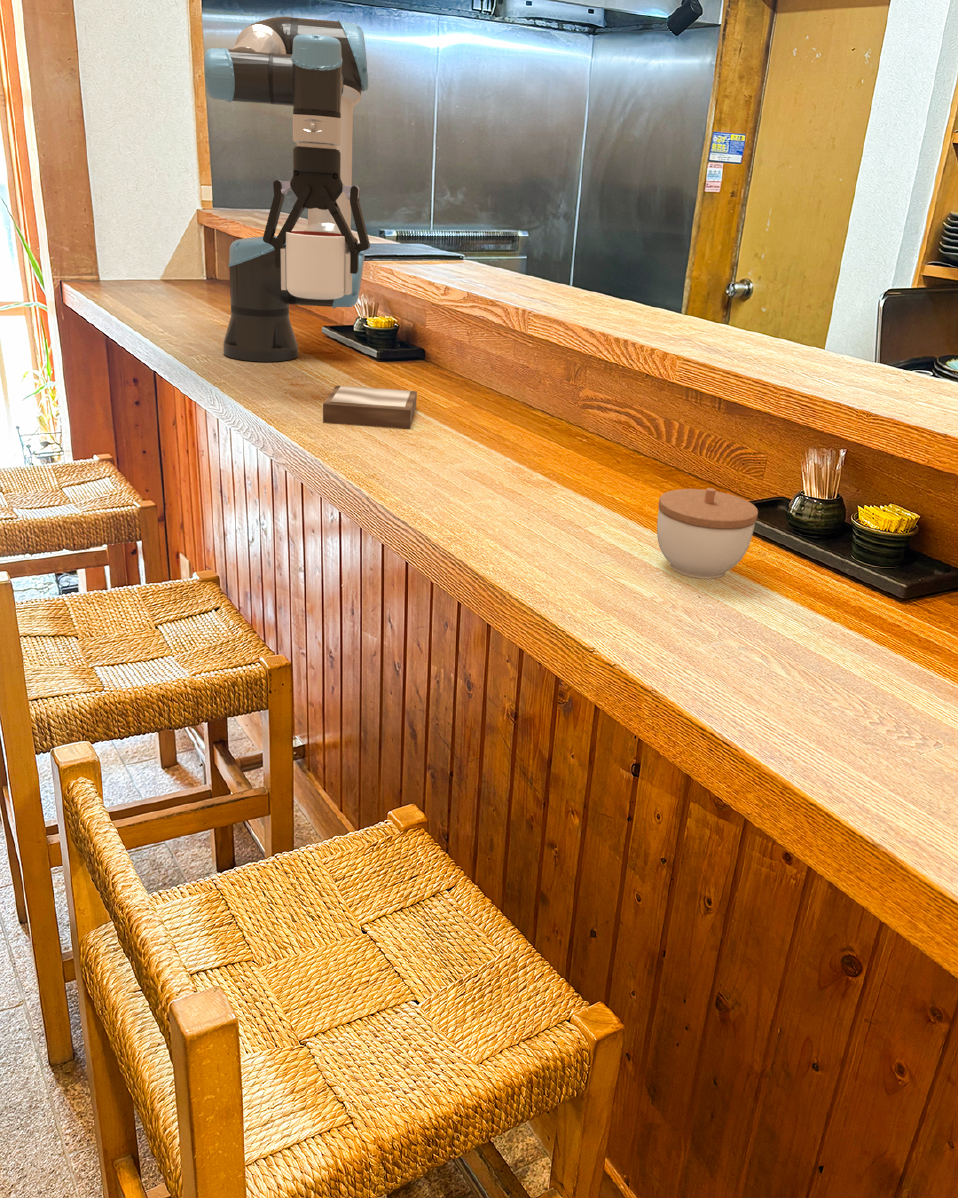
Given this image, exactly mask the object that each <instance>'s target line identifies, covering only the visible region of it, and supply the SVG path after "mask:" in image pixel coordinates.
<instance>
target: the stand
mask: <svg viewBox="0 0 958 1198" xmlns="http://www.w3.org/2000/svg"><path fill="white" fill-rule="evenodd" d="M417 393H418V392H417V391H416V390H403V389H390V388H377V387H376V388H374V387H362V386H350V385H335V386H334V387H333V389H332V391H330V394H329V395H328V396H327V397H326V399H325V401H324V402H323V404H322V423H325V424H339V425H352V426H353V425H354V426H364V427H365V426H367V427H380V428H381V427H382V428H395V429H407V430H409V429H411V427H412V423H413V419H414V416H415V413H416V410H417V397H418V396H417Z"/></svg>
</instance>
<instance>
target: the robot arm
mask: <svg viewBox="0 0 958 1198" xmlns="http://www.w3.org/2000/svg"><path fill="white" fill-rule="evenodd" d="M367 59H368V58H367V50H366V41H365V34H364V31H363V29H362V27H361V26H360V25H358V24H357V23H353V22H346V21H341V20H325V19H314V18H313V19H312V18H305V17H304V18H303V17H294V16H276V17H269V18H267V19H262V20H258V21H256V22H254V23H251V24H249V25H248V26H246V27H245V28H243V29H242V30H241V31H240V33H238V36H237V38H236V41H235V45H234V47H233V48H226V47H221V48H216V47H215V48H213V47H212V48H208V49H207V50H206V52H205V54H204V59H203V61H204V65H203V66H204V69H203V70H204V72H203V75H204V83H205V84H204V85H205V88H206V90H205V91H206V92H207V94H208V97H210V98H211V99H213V100H218V101H225V102H227V103H231V102H236V103H237V102H238V103H250V104H251V103H252V104H267V105H277V106H286V107H287V106H288V107H293V109H292V141H293V142H294V143H296V146H294V147H293V149H292V162H293V163H292V170H293V171H292V173H293V174H292V176H291V180H284V181H283V180H282V179H279V180H278V179H277V180H274V181H273V183H272V185H273V186H272V187H273V198H272V202H271V205H270V209H269V214H268V217H267V221H266V225H265V229H264V232H263V236H251V237H247V238H239V239H236V240H234V241H232V243H231V244H230V246H229V254H228V255H229V257H228V258H229V259H228V269H229V286H230V287H229V290H230V293H229V294H230V318H229V322H228V325H227V329H226V333H225V336H224V339H223V343H222V344H223V355H224V356H226V357H228V358H230V359H231V358H232V359H235V360H239V361H240V360H242V361H247V362H248V361H249V362H268V363H269V362H281V361H282V362H283V361H291V360H294V359H296V358H298V356H299V345H298V342H297V339H296V335H295V332H294V330H293V325H292V323H291V320H290V305H293V306H308V307H311V306H313V307H329V308H331V307H332V308H333V309H336V308H352V307H354V306H355V305H356V304H357V303H358V300H359V296H360V290H361V285H362V279H363V278H362V277H363V270H364V261H365V254H366V252H365V251H366V250H369V249H370V247H371V244H370V239H369V235H368V230H367V228H366V223H365V219H364V215H363V211H362V208H361V207H362V206H361V204H360V194H361V188H360V187H359V186H358V185H352V184H353V183H352V182H353V181H352V177H353V175H352V171H353V168H352V166H353V128H354V126H353V125H354V123H353V122H354V120H353V119H354V107H355V106H356V105H358V103H359V102H360V101H361V99H362V93H363V92H365V91H368V90H369V75H368V61H367ZM290 189H291V190H292V192H293V193H294V194H295V197H296V198H297V199H296V201H295V203H294V204H293V207H292V208H291V209H292V210H291V211H290V213H289V214H288V217H287V218H286V220H285V222H284V224H283V225H282V227H281V229H280V231H279V233H278V235H275V234H276V230H277V227H278V223H279V220H280V216H281V212H282V208H283V203H284V200H285V196H287V195H288V193H289V190H290ZM305 209H307V227H306V228H305V230H304V231H314V232H328V233H337V234H342V236H344V237H345V242H346V244H347V253H346V255H345V295H344V296H343V297H341V298H338V299H327V300H324V299H307V298H300V297H296V296H293V295H291V294H290V293H289V292H288V290H287V287H286V232H289V233H291V231H294V230H293V229H294V228H295V225H296V224H297V222H298V221H299V218H300V217H301V215H302V214H303V212H304V210H305ZM352 217H353V221H354V224H355V225H354V226H355V228H356V233H357V237H358V238H357V237H356V235H355V234H354V233H353V232H352V229H351V227H352V226H351V225H352V224H351V223H352Z"/></svg>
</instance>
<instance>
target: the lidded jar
mask: <svg viewBox="0 0 958 1198" xmlns="http://www.w3.org/2000/svg"><path fill="white" fill-rule="evenodd" d="M657 514H658V515H657V521H656V522H657V523H656V524H657V525H656V534H657V535H656V536H657V542H658V546H659V549H660V552H661V553H662V555H663V557H664V559H666V561H668V563H669V566H670V568H671V569H672V571H674V572H676V573H677V574H680V575H681V576H685V577H688V578H693V579H698V580H716V579H719V578H721V577H724V575H725V573H726V572H728V571H730V570H732V568H735V566H737V565H738V563H740V562H741V561H742V560H743V558H744V557H745V555H746V553H747V551H748V549H749V548H750V547H749V546H750V544H751V541H752V537H753V535H754V531H755V530H754V529H755V525H756V524H755V523H756V522H757V521H758V520H757V519H758V516H759V510H758V508H757V507H756V506H755V504H753V503H752V502H750V501H748V500H746V499H744V498H742V497H739V496H736V495H733V494H730V493H726V492H722V491H717V490H716V489H715V488H713V487H707V488H706V489H700V488H681V489H680V488H679V489H673V490H670V491H667V492H666V491H665V492H664V493H662V494H661V495H660V496H659V499H658V513H657Z"/></svg>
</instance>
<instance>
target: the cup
mask: <svg viewBox="0 0 958 1198" xmlns="http://www.w3.org/2000/svg"><path fill="white" fill-rule="evenodd" d="M346 253H347V244H346V242H345V237H344V236H342V234H337V233H328V232H314V231H305V230H292V231H291V233H289V232H286V287H287V290H288V292H289V293H290V294H291V295H293V296H296V297H300V298H307V299H324V300H327V299H338V298H341V297H343V296H344V295H345V255H346Z"/></svg>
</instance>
